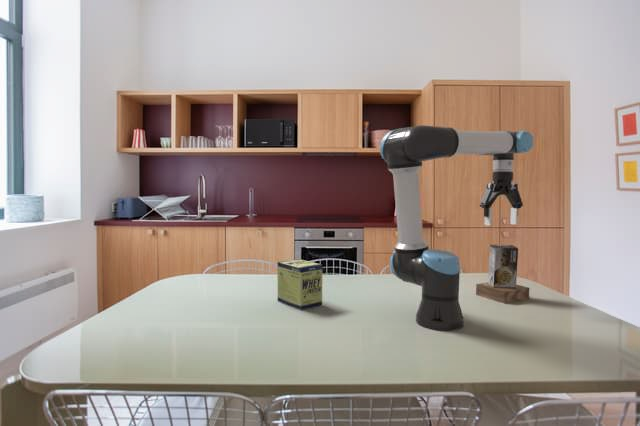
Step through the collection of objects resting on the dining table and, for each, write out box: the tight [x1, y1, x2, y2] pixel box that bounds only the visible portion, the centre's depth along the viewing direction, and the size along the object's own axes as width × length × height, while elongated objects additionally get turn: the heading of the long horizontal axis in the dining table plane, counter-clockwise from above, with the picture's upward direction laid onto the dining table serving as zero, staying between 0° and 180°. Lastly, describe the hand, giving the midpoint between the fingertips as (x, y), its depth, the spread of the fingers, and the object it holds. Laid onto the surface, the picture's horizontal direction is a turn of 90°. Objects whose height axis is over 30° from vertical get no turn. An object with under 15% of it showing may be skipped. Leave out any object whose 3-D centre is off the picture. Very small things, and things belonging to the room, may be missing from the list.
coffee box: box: [487, 244, 519, 288], centre depth 174 cm, size 9×6×16 cm
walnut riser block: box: [475, 282, 530, 304], centre depth 175 cm, size 14×14×5 cm
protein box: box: [277, 258, 323, 311], centre depth 166 cm, size 10×16×16 cm
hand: (500, 224), depth 173 cm, fingers open, 13 cm apart
